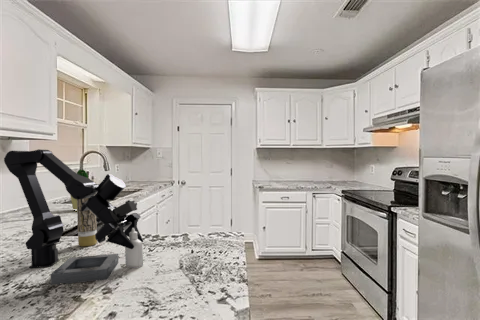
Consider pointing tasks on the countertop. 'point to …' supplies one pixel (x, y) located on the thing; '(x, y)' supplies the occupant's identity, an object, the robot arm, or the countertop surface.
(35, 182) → the robot arm
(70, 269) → the hollow square frame
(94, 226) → the wooden log
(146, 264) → the countertop surface
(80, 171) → the potted cactus
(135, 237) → the eye dropper bottle
